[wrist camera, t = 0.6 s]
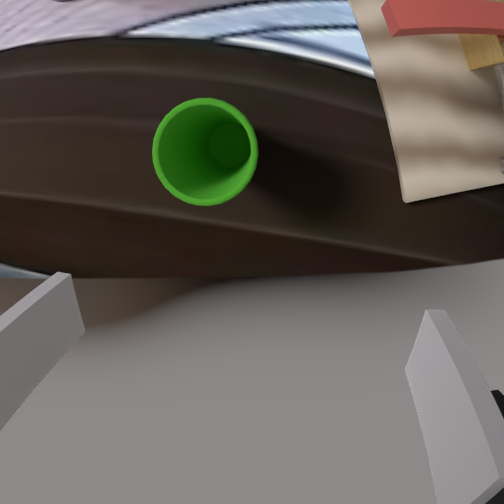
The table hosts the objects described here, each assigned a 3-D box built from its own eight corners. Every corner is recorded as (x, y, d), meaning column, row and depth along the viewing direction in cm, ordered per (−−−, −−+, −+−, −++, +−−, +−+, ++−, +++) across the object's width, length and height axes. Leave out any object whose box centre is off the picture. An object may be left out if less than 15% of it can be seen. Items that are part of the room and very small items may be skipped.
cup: (287, 137, 34) (281, 141, 24) (239, 199, 37) (214, 228, 27) (223, 90, 33) (190, 77, 23) (178, 153, 36) (133, 165, 26)
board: (313, -69, 23) (313, -74, 22) (461, -66, 17) (464, -70, 16) (403, 200, 34) (406, 202, 33) (537, 174, 29) (542, 175, 28)
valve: (409, -67, 19) (426, -97, 12) (459, -61, 17) (482, -86, 10) (488, 169, 29) (526, 182, 22) (532, 162, 28) (570, 173, 20)
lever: (527, 8, 14) (544, 1, 11) (541, 46, 16) (559, 43, 13) (377, 0, 19) (385, -14, 16) (394, 45, 20) (405, 35, 17)
